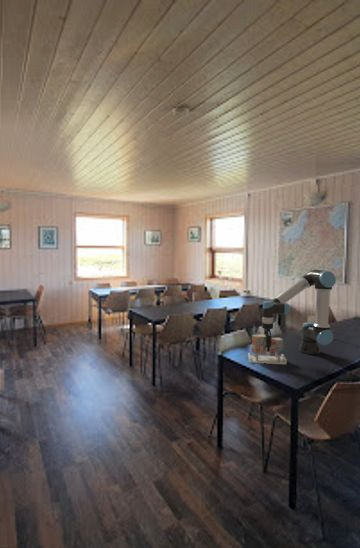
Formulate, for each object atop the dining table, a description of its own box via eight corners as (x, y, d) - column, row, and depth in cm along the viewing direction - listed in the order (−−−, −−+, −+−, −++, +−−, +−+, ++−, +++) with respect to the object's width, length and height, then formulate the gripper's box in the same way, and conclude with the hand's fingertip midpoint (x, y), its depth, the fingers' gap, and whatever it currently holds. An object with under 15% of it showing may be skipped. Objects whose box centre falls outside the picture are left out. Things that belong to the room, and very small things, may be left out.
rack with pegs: (282, 358, 237) (282, 349, 236) (286, 364, 224) (286, 355, 223) (247, 356, 239) (248, 348, 239) (250, 362, 226) (250, 354, 226)
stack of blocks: (278, 349, 236) (279, 333, 235) (283, 352, 230) (283, 335, 229) (251, 351, 232) (252, 334, 231) (255, 354, 226) (255, 336, 225)
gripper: (260, 319, 241) (259, 348, 242) (264, 326, 219) (263, 358, 221) (270, 319, 240) (269, 349, 241) (276, 326, 218) (275, 358, 220)
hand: (266, 353), depth 231 cm, fingers open, 9 cm apart
